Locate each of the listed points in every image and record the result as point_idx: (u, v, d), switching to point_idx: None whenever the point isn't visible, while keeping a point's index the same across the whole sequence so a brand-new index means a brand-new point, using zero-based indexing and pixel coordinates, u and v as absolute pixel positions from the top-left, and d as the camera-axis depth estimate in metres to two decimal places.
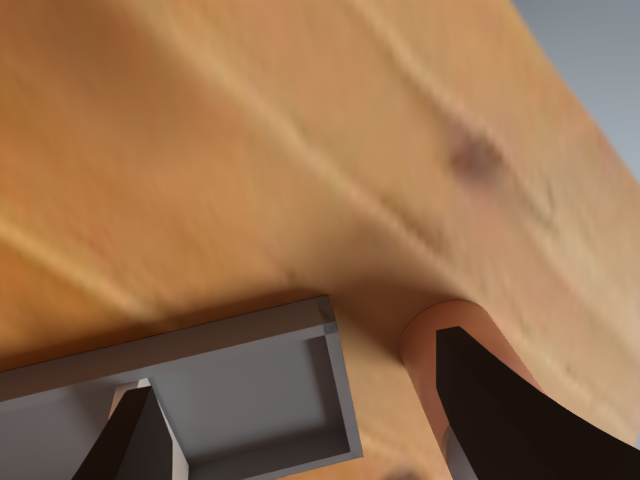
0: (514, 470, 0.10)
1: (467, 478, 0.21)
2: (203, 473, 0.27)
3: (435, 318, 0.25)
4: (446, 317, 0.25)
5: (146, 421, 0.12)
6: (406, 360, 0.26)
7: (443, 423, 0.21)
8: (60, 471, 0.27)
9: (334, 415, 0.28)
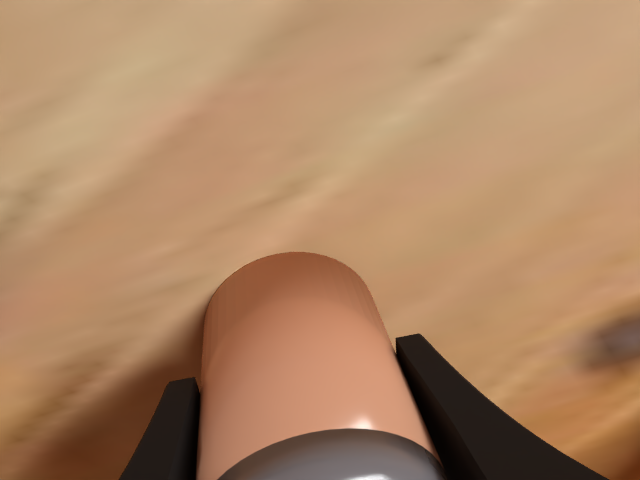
0: None
1: None
2: None
3: None
4: None
5: (192, 412, 0.12)
6: None
7: None
8: None
9: None
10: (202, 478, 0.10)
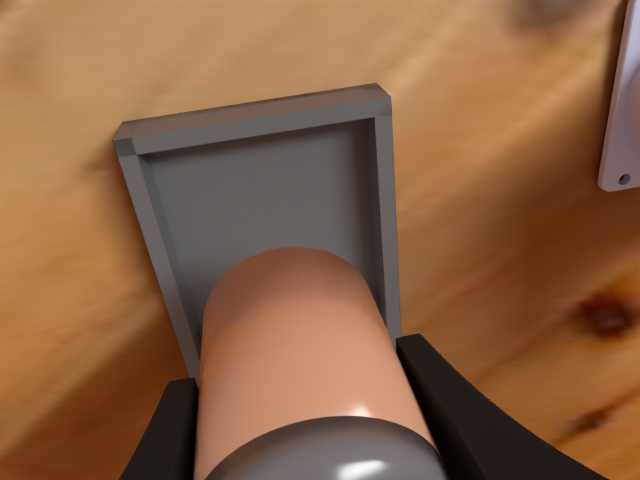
0: None
1: None
2: (379, 286, 0.23)
3: None
4: None
5: (192, 412, 0.12)
6: None
7: None
8: None
9: None
10: (200, 467, 0.10)
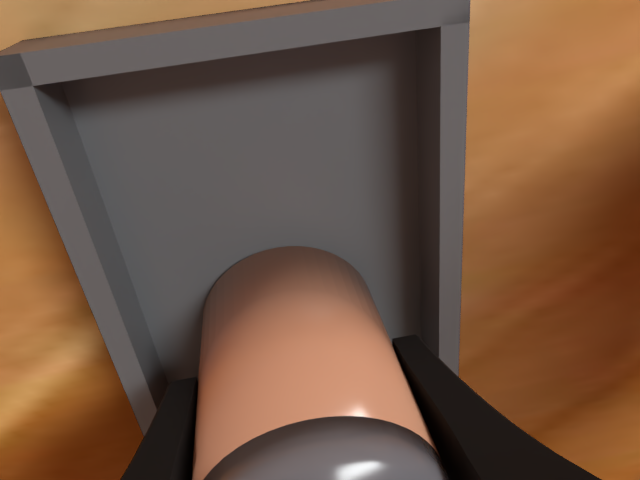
0: None
1: None
2: (427, 304, 0.15)
3: None
4: None
5: (194, 411, 0.12)
6: None
7: None
8: None
9: (370, 41, 0.12)
10: (199, 467, 0.10)
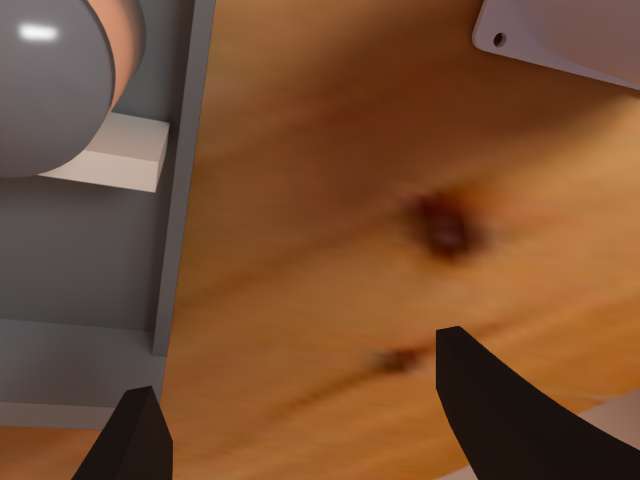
0: (514, 470, 0.10)
1: (30, 154, 0.12)
2: None
3: None
4: None
5: (146, 421, 0.12)
6: None
7: None
8: (118, 215, 0.21)
9: None
10: None
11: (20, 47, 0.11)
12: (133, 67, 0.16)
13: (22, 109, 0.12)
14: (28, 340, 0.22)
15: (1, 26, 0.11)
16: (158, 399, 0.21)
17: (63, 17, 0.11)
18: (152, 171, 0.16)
